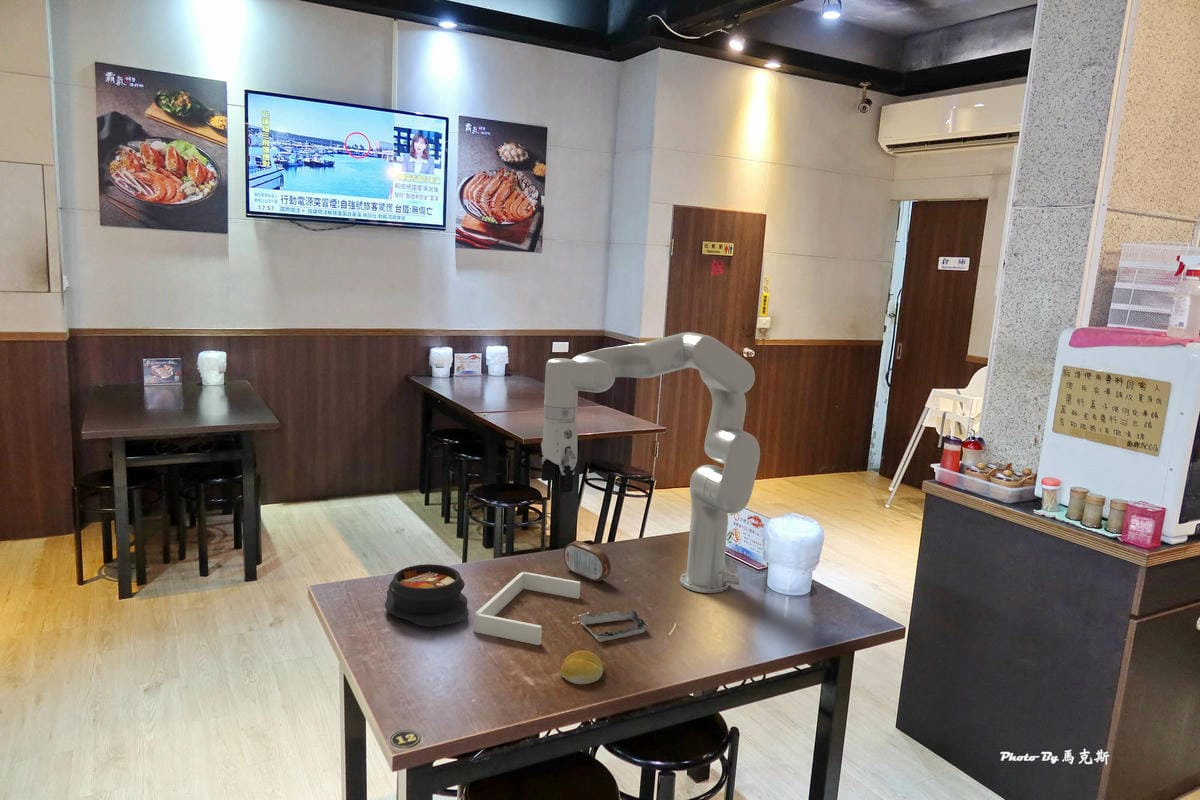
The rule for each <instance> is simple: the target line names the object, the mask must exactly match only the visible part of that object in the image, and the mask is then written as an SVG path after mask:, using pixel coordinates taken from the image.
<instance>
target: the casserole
mask: <svg viewBox="0 0 1200 800" xmlns="http://www.w3.org/2000/svg"><path fill="white" fill-rule="evenodd" d="M465 585H466V584H465V581H464V579H463V578H462V576H461V574H460V572H459V571H458V570H456V569H455V568H453V567H452V566H451V567H450V566H446V565H441V564H426V563H425V564H416V565H412V566H408V567H405V568H402V569H400V570H399V571H397V572H396V573H395V574H394V575H393V578H392V579H391V581H390V582H389V583H388V589H387V591H386V600H385V603H384V608H385V609H386V611H387V612H388V613H389V614H391V615H393V616H395V617H396V618H400V619H403V620H407V621H410V622H412V623H413V624H415V625H418V626H420V627H426V628H427V627H429V628H430V627H442V626H449V625H451V624H454V623H458V622H461V621H462V620H465V619H466V618H468V617H469V615H470V613H469V610H468V598H467V597H466V596H465V595H464V594H463V593H462V591H463V589H464V588H465Z"/></svg>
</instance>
